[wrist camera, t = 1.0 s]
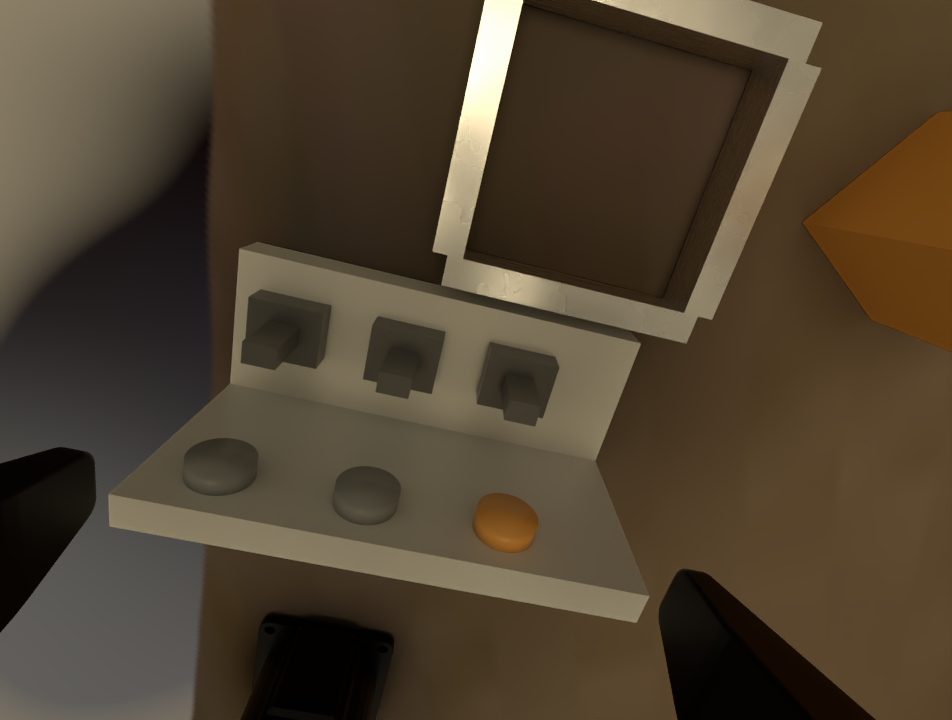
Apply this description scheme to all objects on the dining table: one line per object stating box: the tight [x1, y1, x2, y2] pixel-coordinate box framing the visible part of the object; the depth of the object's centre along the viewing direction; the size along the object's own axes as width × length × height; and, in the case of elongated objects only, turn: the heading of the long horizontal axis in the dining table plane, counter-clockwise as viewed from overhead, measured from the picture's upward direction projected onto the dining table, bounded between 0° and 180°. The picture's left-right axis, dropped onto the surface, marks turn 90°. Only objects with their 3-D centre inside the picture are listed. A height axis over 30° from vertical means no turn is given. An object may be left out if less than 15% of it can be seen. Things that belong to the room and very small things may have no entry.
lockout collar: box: [432, 0, 822, 344], centre depth 16 cm, size 10×10×2 cm
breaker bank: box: [108, 242, 649, 623], centre depth 16 cm, size 6×14×8 cm, turn 76°
